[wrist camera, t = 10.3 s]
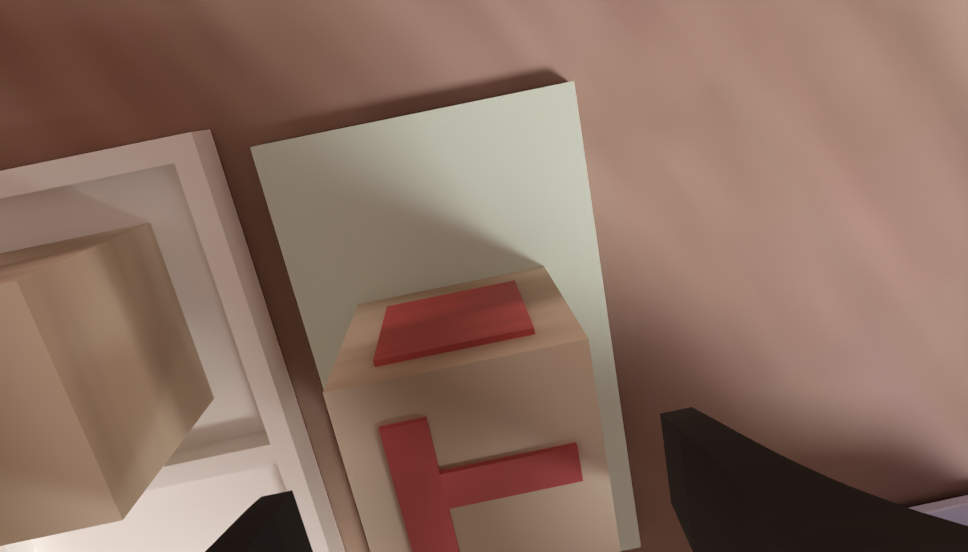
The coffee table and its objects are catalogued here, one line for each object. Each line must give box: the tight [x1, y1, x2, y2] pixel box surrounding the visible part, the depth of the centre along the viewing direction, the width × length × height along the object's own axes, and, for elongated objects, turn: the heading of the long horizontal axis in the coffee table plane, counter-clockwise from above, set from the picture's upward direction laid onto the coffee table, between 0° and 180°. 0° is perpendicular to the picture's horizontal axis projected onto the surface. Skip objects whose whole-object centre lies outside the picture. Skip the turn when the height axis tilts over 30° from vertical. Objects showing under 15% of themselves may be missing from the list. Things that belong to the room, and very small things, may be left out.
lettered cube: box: [323, 266, 621, 552], centre depth 14 cm, size 5×5×5 cm
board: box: [250, 81, 641, 551], centre depth 17 cm, size 8×14×1 cm, turn 11°
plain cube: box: [0, 223, 214, 546], centre depth 13 cm, size 5×5×5 cm
